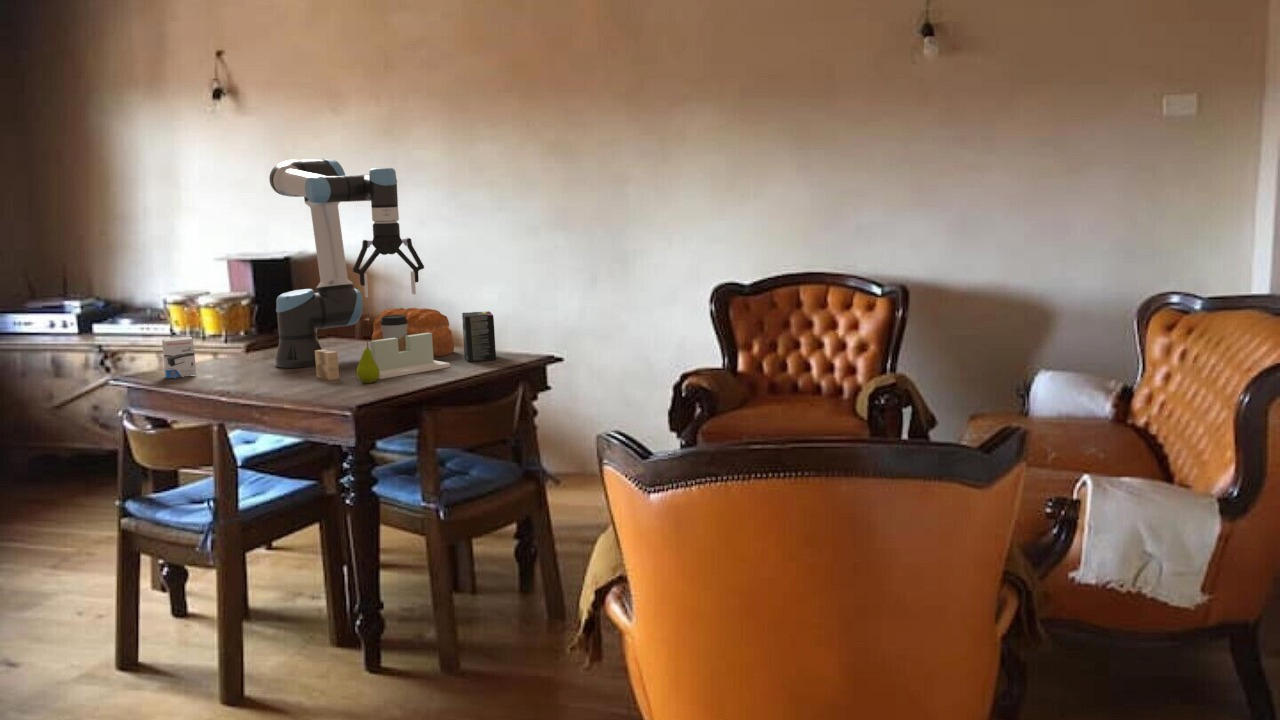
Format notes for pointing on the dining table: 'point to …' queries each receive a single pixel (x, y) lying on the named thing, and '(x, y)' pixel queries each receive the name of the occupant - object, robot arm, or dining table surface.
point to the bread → (422, 327)
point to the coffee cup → (395, 329)
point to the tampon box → (479, 336)
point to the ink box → (179, 357)
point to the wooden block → (326, 364)
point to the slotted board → (405, 356)
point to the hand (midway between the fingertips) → (390, 295)
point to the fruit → (367, 367)
